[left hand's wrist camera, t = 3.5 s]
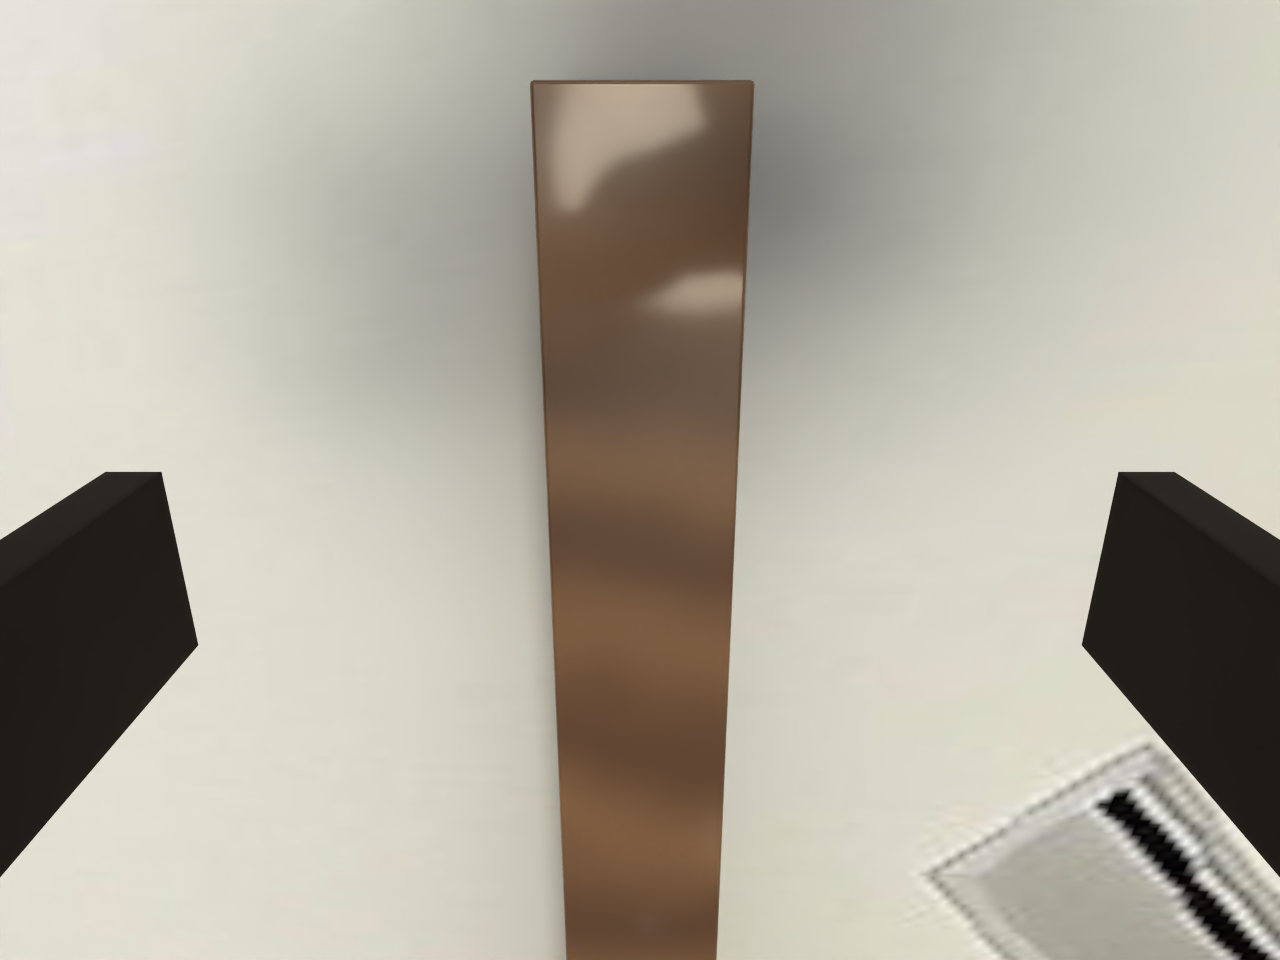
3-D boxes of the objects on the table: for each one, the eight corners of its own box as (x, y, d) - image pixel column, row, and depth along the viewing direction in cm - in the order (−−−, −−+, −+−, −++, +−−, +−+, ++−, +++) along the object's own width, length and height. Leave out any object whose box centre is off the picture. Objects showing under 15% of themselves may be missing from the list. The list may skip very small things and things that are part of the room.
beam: (559, 92, 29) (529, 79, 21) (723, 92, 29) (754, 79, 21) (594, 1252, 52) (586, 1454, 44) (686, 1252, 52) (695, 1454, 44)
